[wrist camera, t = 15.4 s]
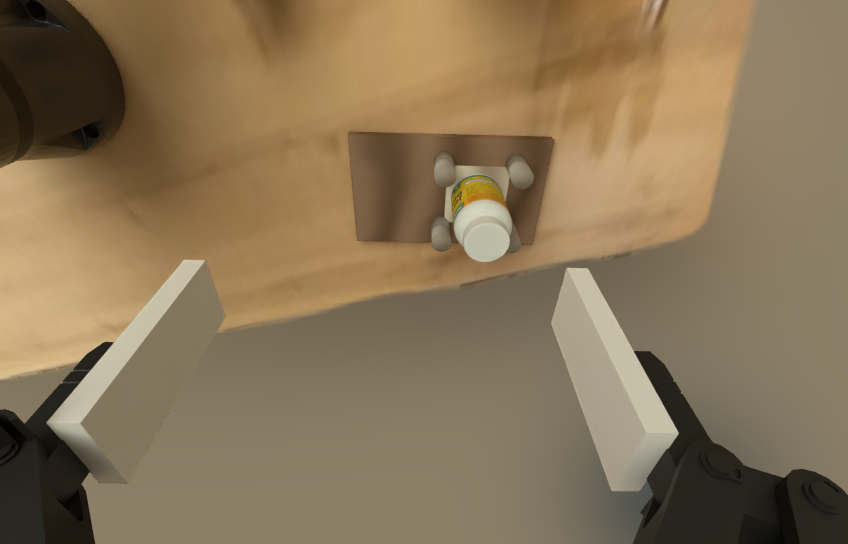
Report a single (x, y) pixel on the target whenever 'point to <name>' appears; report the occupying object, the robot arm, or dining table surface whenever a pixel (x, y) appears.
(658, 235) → the dining table surface
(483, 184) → the supplement bottle
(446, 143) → the pin nest
